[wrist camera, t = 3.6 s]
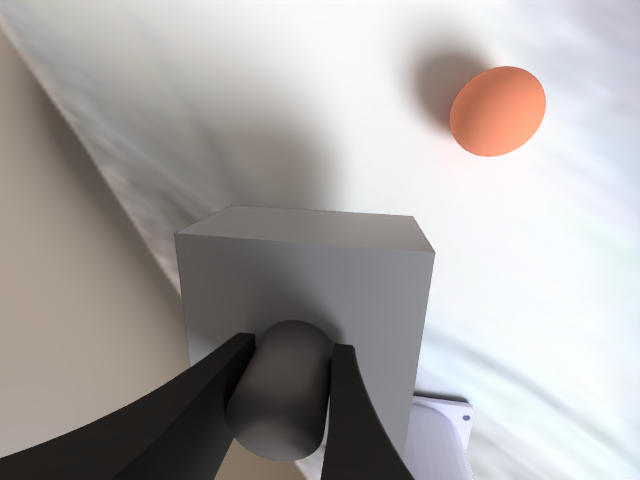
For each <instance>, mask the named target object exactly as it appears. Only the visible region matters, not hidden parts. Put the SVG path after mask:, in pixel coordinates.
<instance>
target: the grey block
mask: <svg viewBox="0 0 640 480" xmlns="http://www.w3.org/2000/svg"><path fill="white" fill-rule="evenodd" d="M174 236H175V244H176V252H177V261H178V269H179V277H180V285H181V294H182V302H183V310H184V318H185V326H186V334H187V342H188V351H189V359H190V367H192V366H193V365H195V364H196V363H197V362H199V361H200V360H202V359H203V358H204V357H206V356H207V355H209V354H210V353H211V352H213V351H214V350H215V349H217V348H218V347H219V346H221V345H222V344H223V343H225V342H226V341H227V340H229V339H230V338H232V337H233V336H234V335H236V334H237V333H239V332H242V333H251V334H255V339H256V350H255V352H254V354H253V356H252V358H251V360H250V362H249V364H248V366H247V368H246V369H245V371H244V373H243V375H242V377H241V379H240V381H239V383H238V385H237V387H236V389H235V391H234V392H233V394H232V396H231V398H230V400H229V402H228V405H227V409H226V420H227V424H228V427H229V429H230V431H231V433H232V434H233V436H234V437H235V438H236V440H237V441H238V442H239V443H240V444H241V445H243V446H244V447H245V448H246V449H248V450H250V451H251V452H252V453H254V454H256V455H258V456H261V457H263V458H267V459H270V460H275V461H295V460H300V459H303V458H305V457H307V456H309V455H311V454H312V453H314V452H315V451H316V450H317V449H318V447H319V446H320V445H326V441H327V434H328V421H329V402H330V383H331V365H332V353H333V348H334V344H335V343H338V344H347V345H353V346H354V348H355V353H356V358H357V363H358V366H359V370H360V373H361V376H362V379H363V382H364V384H365V387H366V390H367V392H368V395H369V397H370V400H371V402H372V404H373V407H374V409H375V411H376V413H377V415H378V417H379V419H380V421H381V423H382V425H383V427H384V429H385V431H386V433H387V435H388V437H389V438H390V440H391V442H392V444H393V446H394V447H395V449H396V451H397V452H398V454H399V456H400V457H403V456H404V450H405V443H406V437H407V430H408V424H409V418H410V411H411V405H412V398H413V392H414V386H415V379H416V373H417V366H418V360H419V354H420V347H421V341H422V334H423V328H424V322H425V315H426V309H427V302H428V296H429V290H430V283H431V277H432V270H433V264H434V258H435V251H434V250H433V248H432V246H431V245H430V243H429V242H428V240H427V238H426V237H425V235H424V233H423V232H422V230H421V229H420V227H419V225H418V224H417V222H416V221H415V219H414V217H413V216H401V215H385V214H368V213H352V212H336V211H319V210H303V209H286V208H270V207H253V206H237V205H231V206H229V207H227V208H225V209H223V210H221V211H218V212H216V213H214V214H212V215H210V216H208V217H206V218H204V219H202V220H200V221H198V222H196V223H194V224H192V225H190V226H188V227H186V228H184V229H182V230H180V231H178V232H175V233H174Z"/></svg>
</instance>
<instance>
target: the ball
mask: <svg viewBox="0 0 640 480" xmlns="http://www.w3.org/2000/svg"><path fill="white" fill-rule="evenodd" d="M545 108H546V99H545V93H544V90H543V88H542V85H541V84H540V82H539V81H538V80H537V78H536V77H535V76H533V75H532V74H531V73H529V72H528V71H526V70H523V69H521V68H517V67H510V66H505V67H496V68H492V69H489V70H486V71H484V72H482V73H480V74H478V75H477V76H475V77H474V78H472V79H471V80H470V81H469V82H468V83H467V84H466V85H465V86H464V87H463V88H462V89H461V90H460V91H459V93H458V95H457V96H456V98H455V100H454V102H453V105H452V108H451V113H450V127H451V131H452V134H453V136H454V138H455V140H456V141H457V143H458V144H459V145H460V146H461V147H462V148H464V149H465V150H466V151H468V152H470V153H473V154H475V155H479V156H486V157H489V156H499V155H503V154H506V153H509V152H511V151H514V150H516V149H517V148H519V147H520V146H522V145H523V144H525V143H526V142H527V141H528V140H529V139H530V138H531V137H532V136H533V135H534V134H535V132H536V131H537V130H538V128H539V126H540V124H541V122H542V120H543V117H544V113H545Z"/></svg>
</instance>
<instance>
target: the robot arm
mask: <svg viewBox="0 0 640 480" xmlns="http://www.w3.org/2000/svg"><path fill="white" fill-rule="evenodd" d="M255 350H256V339H255V334H251V333H242V332H239V333H237V334H236V335H234V336H233V337H232V338H230V339H229V340H227V341H226V342H225V343H223V344H222V345H221V346H219V347H218V348H217V349H215V350H214V351H213V352H211V353H210V354H209V355H207V356H206V357H204V358H203V359H202V360H200V361H199V362H197V363H196V364H195V365H193V366H192V367H190V368H189V369H187V370H186V371H184V372H183V373H181V374H180V375H178V376H176V377H175V378H174V379H172V380H170V381H169V382H167V383H166V384H164V385H163V386H161V387H159V388H157V389H156V390H154V391H152V392H151V393H149V394H147V395H145V396H143V397H142V398H140V399H138V400H136V401H134V402H133V403H131V404H129V405H127V406H125V407H123V408H121V409H119V410H117V411H115V412H112V413H111V414H108V415H106V416H104V417H102V418H100V419H98V420H96V421H94V422H92V423H90V424H87V425H85V426H83V427H80V428H78V429H76V430H73V431H71V432H69V433H66V434H64V435H61V436H59V437H57V438H54V439H52V440H49V441H47V442H44V443H42V444H39V445H36V446H34V447H31V448H28V449H26V450H23V451H20V452H17V453H14V454H11V455H8V456H5V457H2V458H0V480H214V478H215V476H216V474H217V472H218V469H219V467H220V465H221V463H222V461H223V459H224V457H225V455H226V452H227V451H228V449H229V447H230V444H231V442H232V440H233V438H234V436H233V434H232V433H231V431H230V429H229V427H228V424H227V420H226V409H227V405H228V402H229V400H230V398H231V396H232V394H233V392H234V391H235V389H236V387H237V385H238V383H239V381H240V379H241V377H242V375H243V373H244V371H245V369H246V368H247V366H248V364H249V362H250V360H251V358H252V356H253V354H254V352H255ZM474 414H475V410H474V408H473V406H472V405H471V404H469V403H464V402H456V401H448V400H441V399H433V398H425V397H418V396H413V398H412V405H411V411H410V418H409V424H408V430H407V437H406V443H405V450H404V456H403V457H400V456H399V454H398V452H397V451H396V449H395V447H394V446H393V444H392V442H391V440H390V438H389V437H388V435H387V433H386V431H385V429H384V427H383V425H382V423H381V421H380V419H379V417H378V415H377V413H376V411H375V409H374V407H373V404H372V402H371V400H370V397H369V395H368V392H367V390H366V387H365V384H364V382H363V379H362V376H361V373H360V370H359V366H358V363H357V358H356V353H355V348H354V346H353V345H347V344H338V343H335V344H334V348H333V353H332V365H331V383H330V402H329V421H328V434H327V441H326V448H325V454H324V461H323V467H322V473H321V480H474V477H473V474H472V471H471V468H470V465H469V461H468V458H467V455H466V448H467V443H468V439H469V435H470V431H471V427H472V423H473V418H474ZM464 415H467V416H464Z"/></svg>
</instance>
